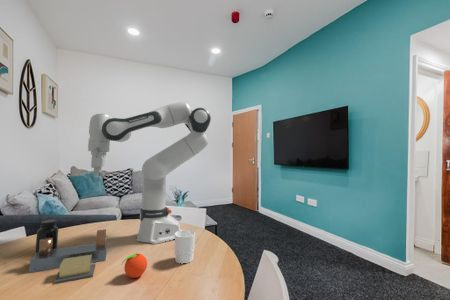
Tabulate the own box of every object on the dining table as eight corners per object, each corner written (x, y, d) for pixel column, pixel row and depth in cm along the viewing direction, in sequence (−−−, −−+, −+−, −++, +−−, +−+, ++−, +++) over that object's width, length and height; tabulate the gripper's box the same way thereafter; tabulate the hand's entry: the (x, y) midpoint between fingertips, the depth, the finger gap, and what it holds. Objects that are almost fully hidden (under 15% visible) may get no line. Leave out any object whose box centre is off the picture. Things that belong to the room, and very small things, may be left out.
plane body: (106, 251, 87) (108, 226, 88) (105, 260, 80) (106, 233, 81) (37, 262, 78) (39, 234, 78) (29, 272, 71) (31, 241, 71)
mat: (95, 265, 76) (95, 263, 76) (92, 276, 69) (92, 274, 69) (60, 271, 72) (60, 269, 72) (53, 284, 65) (54, 282, 65)
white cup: (198, 257, 84) (198, 231, 85) (188, 266, 77) (189, 238, 77) (180, 254, 87) (181, 228, 88) (169, 262, 80) (170, 235, 80)
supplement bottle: (44, 255, 83) (46, 224, 83) (30, 253, 84) (32, 222, 85) (61, 248, 90) (63, 219, 90) (48, 247, 91) (49, 218, 92)
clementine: (122, 286, 65) (123, 261, 65) (118, 275, 70) (119, 253, 71) (149, 277, 69) (150, 255, 70) (143, 268, 75) (144, 247, 75)
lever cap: (91, 266, 75) (91, 254, 75) (89, 273, 70) (90, 260, 70) (63, 271, 71) (63, 258, 71) (59, 278, 67) (59, 265, 67)
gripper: (104, 147, 95) (103, 178, 94) (107, 148, 113) (106, 175, 113) (88, 146, 92) (86, 178, 92) (93, 148, 111) (92, 175, 110)
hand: (97, 176), depth 102 cm, fingers open, 8 cm apart
